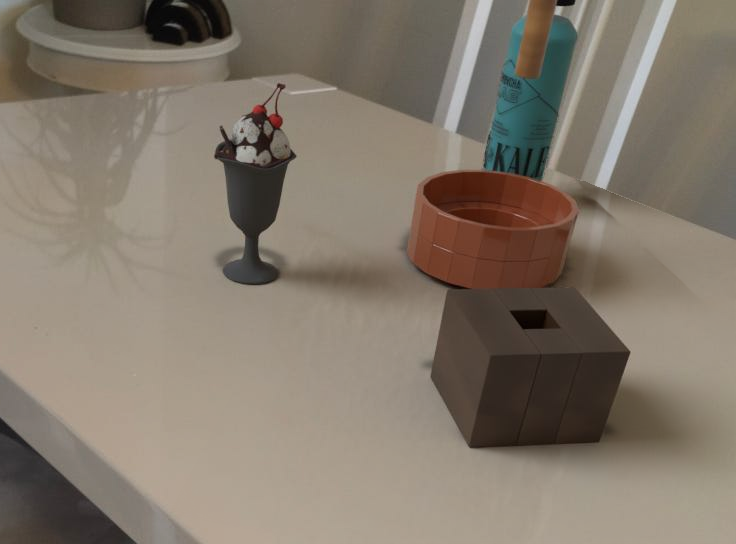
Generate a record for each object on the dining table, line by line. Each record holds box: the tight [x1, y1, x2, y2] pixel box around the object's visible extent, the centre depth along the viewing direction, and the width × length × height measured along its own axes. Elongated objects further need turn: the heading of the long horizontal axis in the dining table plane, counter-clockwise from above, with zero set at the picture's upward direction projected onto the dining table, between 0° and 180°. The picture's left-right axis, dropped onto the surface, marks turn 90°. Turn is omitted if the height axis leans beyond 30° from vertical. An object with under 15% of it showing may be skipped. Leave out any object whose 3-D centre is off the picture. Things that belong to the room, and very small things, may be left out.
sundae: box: [213, 82, 298, 285], centre depth 81 cm, size 7×7×15 cm
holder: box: [430, 286, 631, 448], centre depth 70 cm, size 10×10×7 cm
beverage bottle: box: [480, 0, 579, 182], centre depth 96 cm, size 6×7×20 cm
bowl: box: [406, 169, 579, 289], centre depth 88 cm, size 14×14×6 cm
